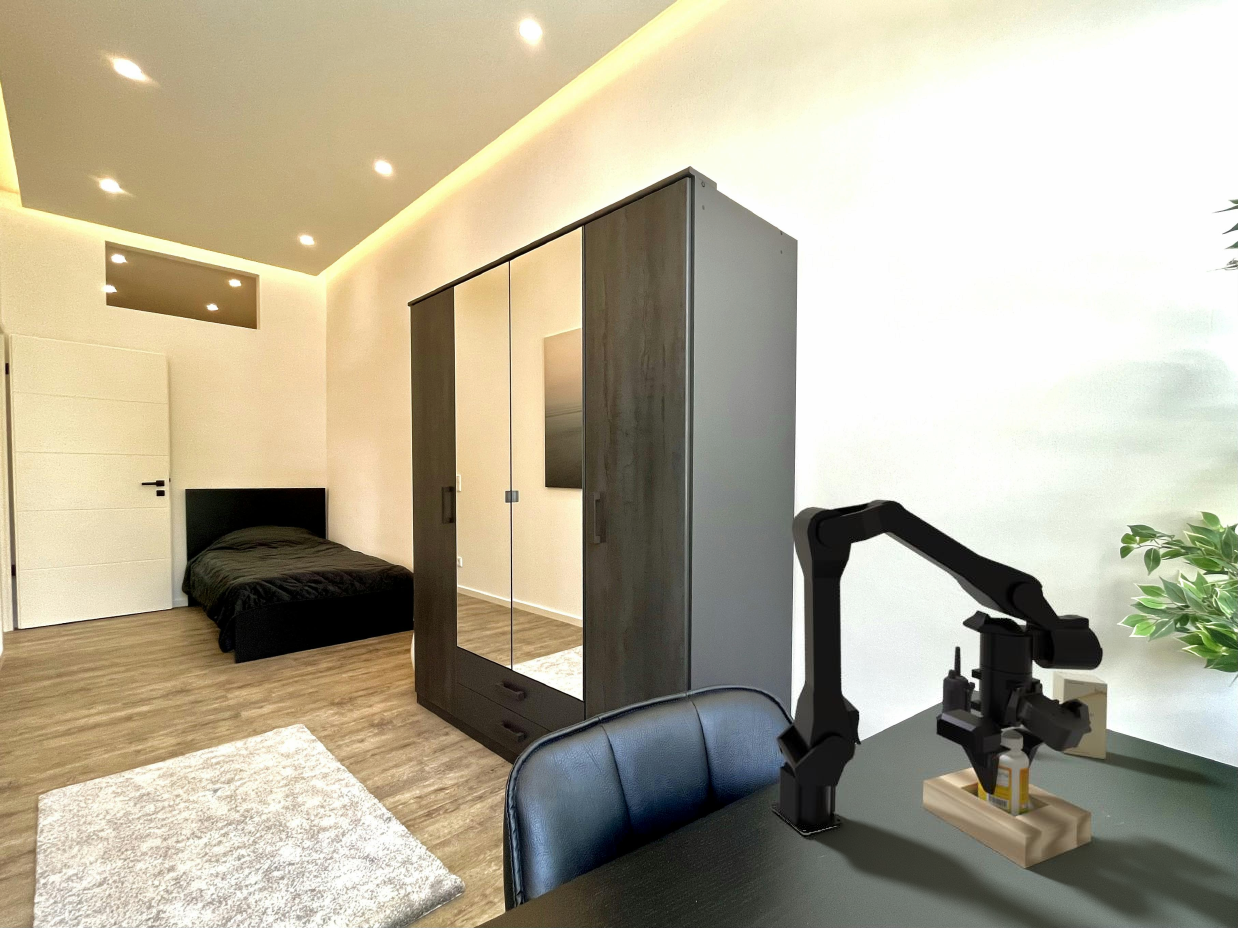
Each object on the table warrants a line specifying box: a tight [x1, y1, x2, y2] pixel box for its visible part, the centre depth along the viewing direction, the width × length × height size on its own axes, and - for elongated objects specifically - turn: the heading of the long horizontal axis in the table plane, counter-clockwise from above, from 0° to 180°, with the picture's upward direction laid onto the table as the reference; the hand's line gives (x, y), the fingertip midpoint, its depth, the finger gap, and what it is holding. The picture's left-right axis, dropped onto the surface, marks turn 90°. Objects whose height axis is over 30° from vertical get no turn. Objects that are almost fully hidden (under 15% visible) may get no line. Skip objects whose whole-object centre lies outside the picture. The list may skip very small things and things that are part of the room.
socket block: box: [922, 767, 1092, 869], centre depth 74 cm, size 13×13×4 cm
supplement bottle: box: [978, 730, 1030, 817], centre depth 75 cm, size 5×5×10 cm
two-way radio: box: [941, 646, 976, 714], centre depth 100 cm, size 6×4×15 cm
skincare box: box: [1052, 670, 1108, 760], centre depth 96 cm, size 6×4×12 cm
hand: (1003, 788), depth 74 cm, fingers closed on supplement bottle, 5 cm apart
